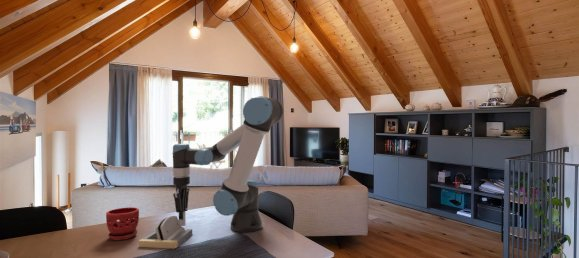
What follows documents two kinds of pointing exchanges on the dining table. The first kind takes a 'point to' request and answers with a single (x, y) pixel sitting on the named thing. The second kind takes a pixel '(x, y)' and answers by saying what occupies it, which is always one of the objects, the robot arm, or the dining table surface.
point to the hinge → (169, 228)
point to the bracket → (150, 241)
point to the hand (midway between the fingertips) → (182, 225)
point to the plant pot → (122, 223)
